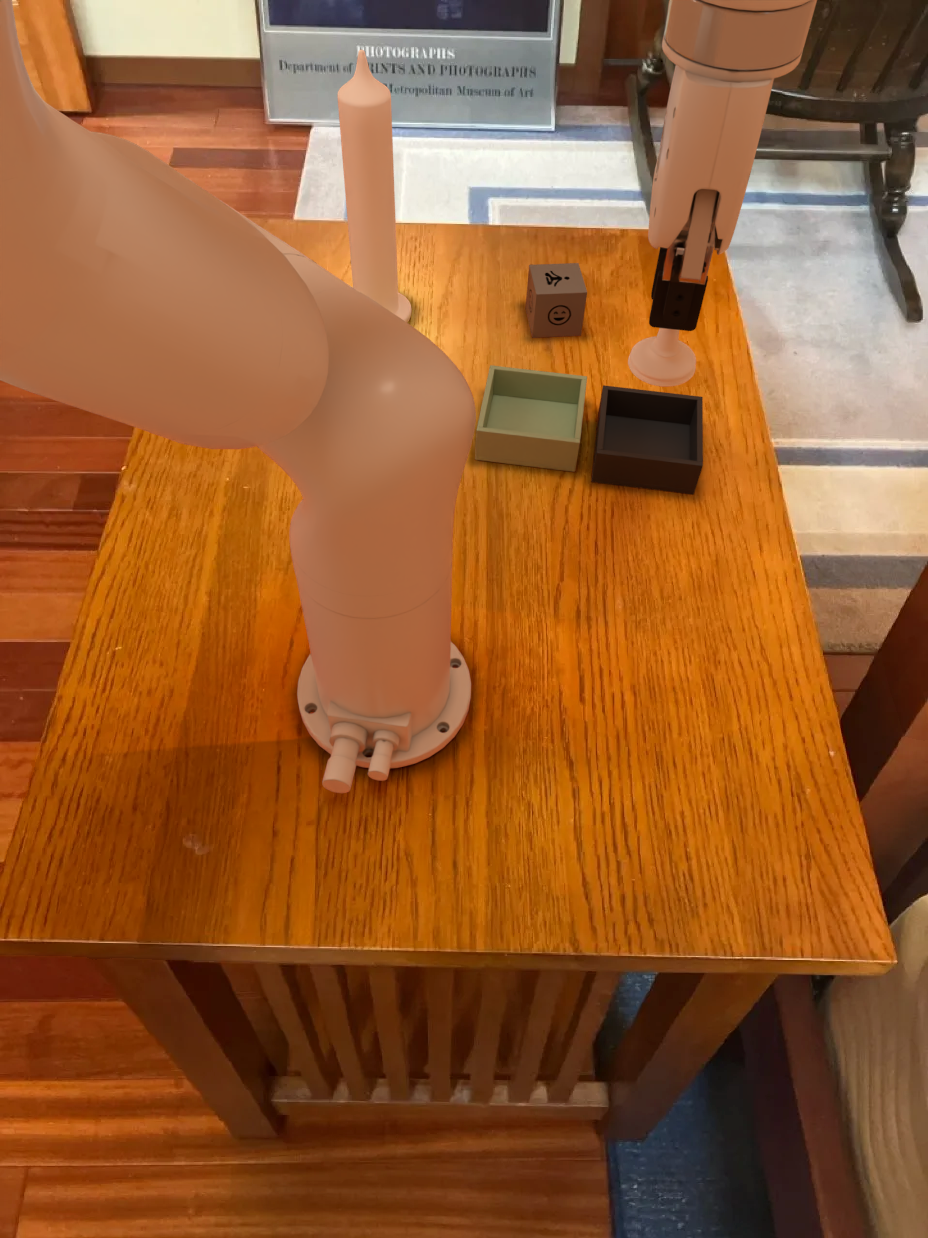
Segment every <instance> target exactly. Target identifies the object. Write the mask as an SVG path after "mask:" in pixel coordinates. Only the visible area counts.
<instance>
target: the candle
mask: <svg viewBox="0 0 928 1238" xmlns="http://www.w3.org/2000/svg"><path fill="white" fill-rule="evenodd" d="M355 65H356V66H355V70H354V74H353V76H352V77H351V79H349V80H347V82H346V83H344V84H342V86H341V87H339V89H338V91H337V94H336V95H337V110H338V121H339V134H340V145H341V157H342V169H343V181H344V193H345V207H346V216H347V217H346V218H347V228H348V229H347V231H348V243H349V244H348V246H349V256H350V267H351V268H350V269H351V281H352V288H354V289H355V290H357V291H358V292H361V293H363V294H365V295H366V296H368V297H370V298H371V299H373V300H374V301H376V302H377V303H379V304H380V305H382V306H383V307H385V308H386V309H387V310H389V311H390V312H392V313H393V314H395V315H396V316H398V317H399V318H401V319H402V320H404V321H405V322H407V323H409V321H410V319H411V317H412V305H411V302H410V301H409V299H408V298H407V297H406V296H405V295H404V294H402V293H401V292H399V277H398V276H399V275H398V252H397V250H398V248H397V247H398V246H397V223H396V197H395V196H396V195H395V172H394V171H395V169H394V168H395V167H394V166H395V165H394V144H393V143H394V142H393V139H394V138H393V115H392V94H391V91H390V88H388V86H387V85H385V84H384V83H382V82H381V81H379V80H378V79H377V78H375V77H374V75H373V73H372V72H371V70H370V67H369V63H368V59H367V55H366V51H365V50H364V49H359V50H358V53H357V60H356V64H355Z"/></svg>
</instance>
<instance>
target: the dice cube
mask: <svg viewBox="0 0 928 1238" xmlns="http://www.w3.org/2000/svg"><path fill="white" fill-rule="evenodd" d="M525 296H526V297H525V307H524V308H525V312H526V316H527V322H528V326H529V330H530V334H531V339H539V338H559V337H560V338H561V337H562V338H563V337H579V336H580V337H581V336H582V333H583V332H582V331H583V323H584V317H585V311H586V303H587V297H588V290H587V286H586V283H585V280H584V277H583V273H582V270H581V267H580V264H579V262H569V263H568V262H567V263H566V262H565V263H544V264H543V263H541V264H540V263H539V264H538V263H537V264H529V265H528V273H527V285H526V294H525Z"/></svg>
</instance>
